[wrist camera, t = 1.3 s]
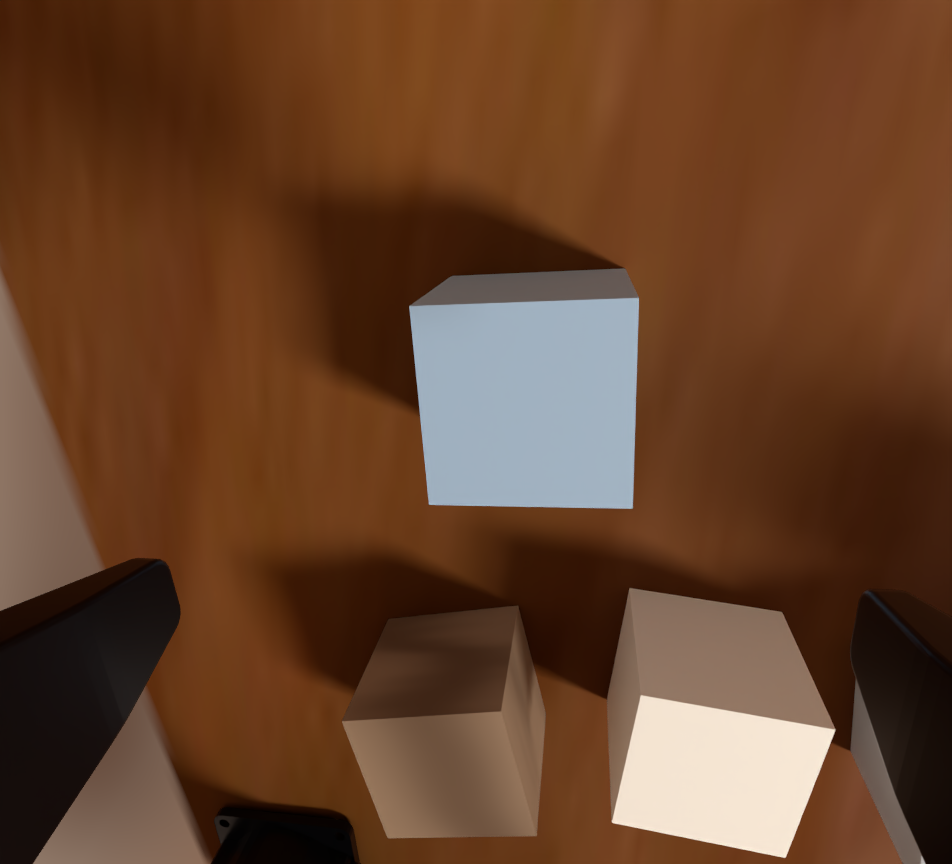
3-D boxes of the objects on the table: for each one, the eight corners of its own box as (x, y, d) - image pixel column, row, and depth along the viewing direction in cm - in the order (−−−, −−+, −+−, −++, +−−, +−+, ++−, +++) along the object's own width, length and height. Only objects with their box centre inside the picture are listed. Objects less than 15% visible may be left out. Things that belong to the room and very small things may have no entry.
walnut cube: (423, 719, 25) (387, 837, 21) (388, 617, 24) (341, 721, 19) (546, 712, 24) (536, 835, 20) (518, 604, 23) (500, 711, 18)
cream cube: (606, 697, 24) (611, 822, 19) (629, 586, 22) (641, 695, 17) (745, 722, 23) (785, 857, 18) (781, 610, 21) (835, 729, 16)
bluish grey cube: (463, 432, 21) (428, 504, 16) (452, 275, 19) (409, 306, 14) (621, 432, 20) (632, 508, 15) (624, 268, 18) (638, 297, 13)
